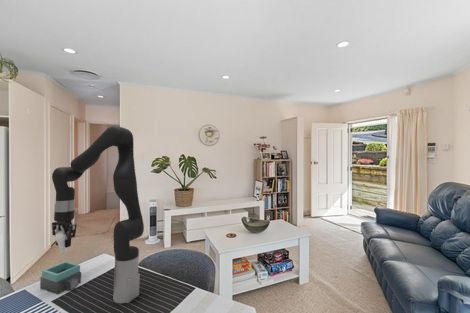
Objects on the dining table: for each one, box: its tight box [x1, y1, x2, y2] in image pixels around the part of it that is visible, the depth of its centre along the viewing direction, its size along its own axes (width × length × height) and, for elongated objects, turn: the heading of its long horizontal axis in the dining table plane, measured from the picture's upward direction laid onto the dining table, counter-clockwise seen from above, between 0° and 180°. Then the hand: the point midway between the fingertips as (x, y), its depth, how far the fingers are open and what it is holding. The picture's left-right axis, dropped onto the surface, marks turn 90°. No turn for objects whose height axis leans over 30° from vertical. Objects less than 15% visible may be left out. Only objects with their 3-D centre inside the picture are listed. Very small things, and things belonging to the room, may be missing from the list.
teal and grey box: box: [39, 261, 82, 295], centre depth 99 cm, size 15×10×8 cm, turn 70°
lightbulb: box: [54, 231, 69, 254], centre depth 100 cm, size 6×6×11 cm
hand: (63, 245), depth 100 cm, fingers closed on lightbulb, 5 cm apart
